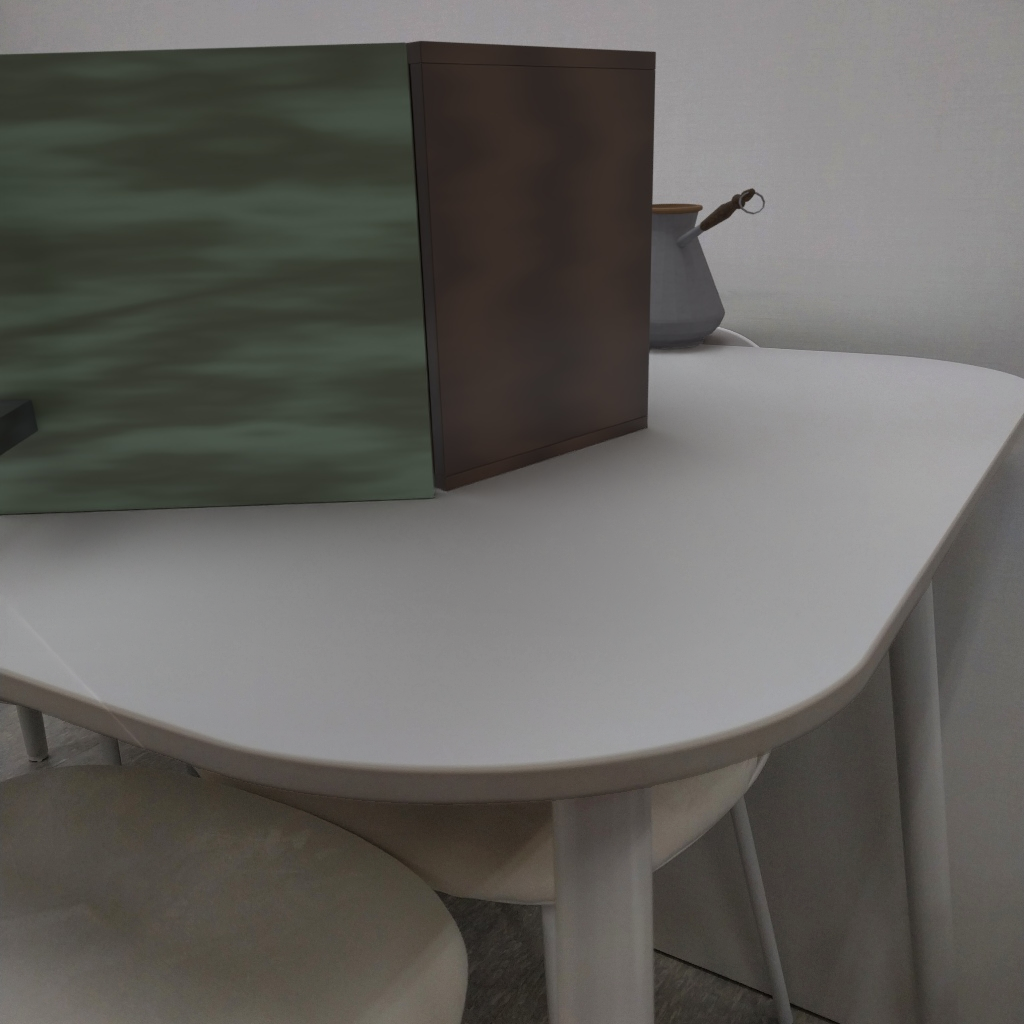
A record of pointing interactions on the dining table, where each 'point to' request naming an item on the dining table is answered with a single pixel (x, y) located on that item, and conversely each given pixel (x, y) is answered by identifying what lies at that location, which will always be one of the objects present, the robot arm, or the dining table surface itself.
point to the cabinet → (532, 248)
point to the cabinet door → (210, 279)
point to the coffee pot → (685, 274)
